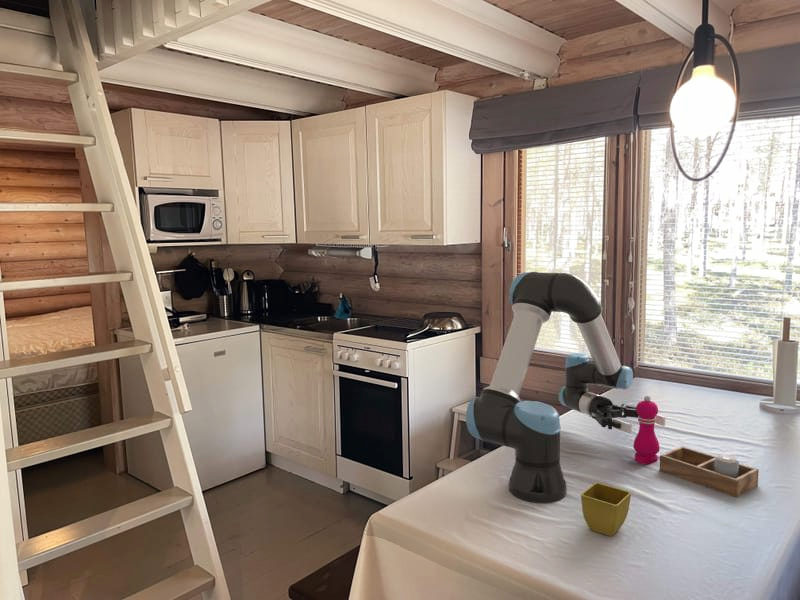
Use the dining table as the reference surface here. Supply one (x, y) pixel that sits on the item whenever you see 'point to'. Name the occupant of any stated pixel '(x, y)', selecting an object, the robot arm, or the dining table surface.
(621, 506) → the flower pot
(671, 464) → the caddy
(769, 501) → the dining table surface
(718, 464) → the salt jar
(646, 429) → the pepper mill
